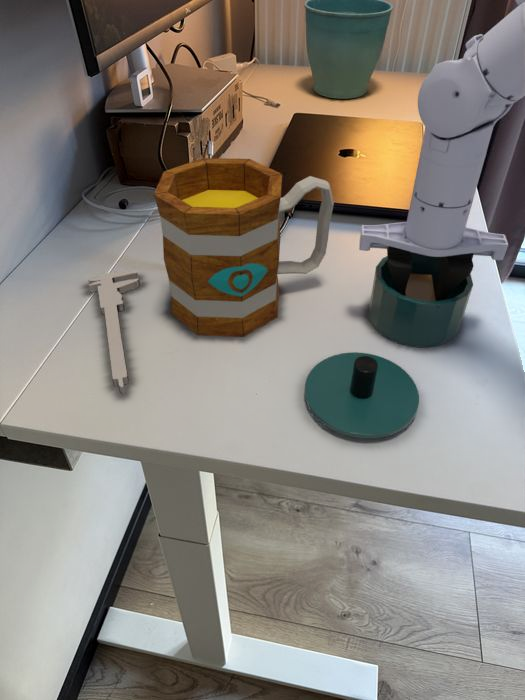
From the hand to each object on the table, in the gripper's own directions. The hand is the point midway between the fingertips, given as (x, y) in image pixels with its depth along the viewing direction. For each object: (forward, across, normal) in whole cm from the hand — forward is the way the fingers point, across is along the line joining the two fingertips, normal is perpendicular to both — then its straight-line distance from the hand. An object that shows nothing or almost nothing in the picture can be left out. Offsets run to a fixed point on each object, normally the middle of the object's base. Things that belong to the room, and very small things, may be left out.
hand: (416, 305), depth 61 cm
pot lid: (+1, +6, +14) cm, 15 cm away
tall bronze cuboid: (+1, 0, 0) cm, 1 cm away
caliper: (+1, +31, +6) cm, 32 cm away
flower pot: (+2, +11, -80) cm, 81 cm away
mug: (+2, +19, -1) cm, 19 cm away
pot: (+2, 0, 0) cm, 2 cm away
